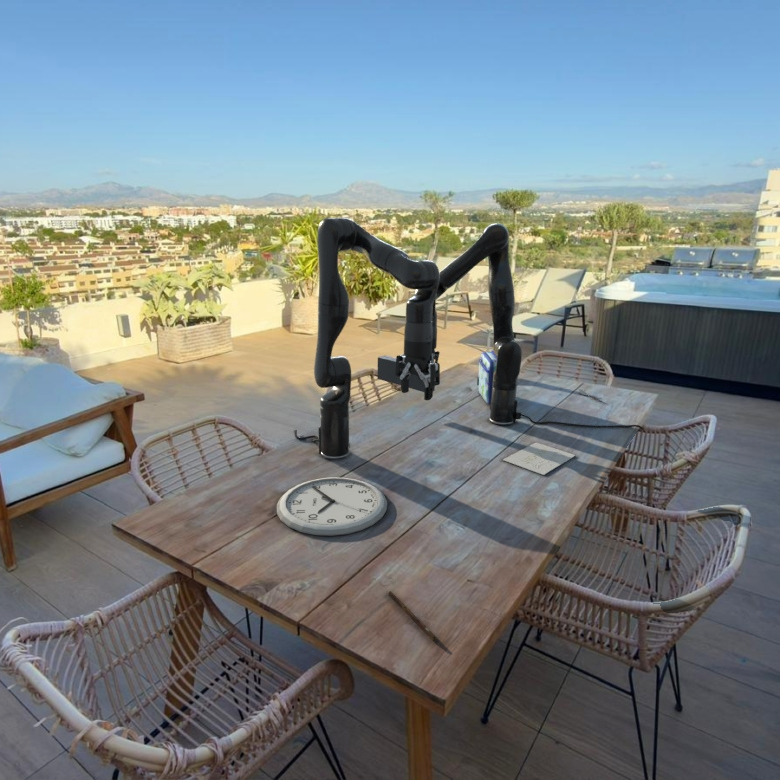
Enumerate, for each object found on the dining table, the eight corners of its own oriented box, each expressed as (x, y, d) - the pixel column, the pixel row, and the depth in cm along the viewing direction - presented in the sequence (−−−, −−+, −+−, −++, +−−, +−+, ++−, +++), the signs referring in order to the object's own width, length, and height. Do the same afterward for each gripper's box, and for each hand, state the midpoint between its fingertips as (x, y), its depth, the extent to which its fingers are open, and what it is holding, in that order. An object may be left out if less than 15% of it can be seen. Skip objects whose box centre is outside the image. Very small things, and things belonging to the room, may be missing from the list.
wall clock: (392, 527, 129) (268, 531, 127) (391, 533, 130) (269, 537, 127) (383, 473, 158) (282, 475, 155) (383, 478, 158) (282, 480, 156)
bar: (434, 390, 209) (435, 367, 206) (427, 393, 206) (428, 369, 203) (384, 376, 227) (385, 355, 224) (377, 378, 224) (377, 357, 221)
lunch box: (475, 390, 246) (478, 346, 240) (498, 390, 246) (501, 347, 240) (484, 408, 221) (487, 360, 215) (509, 409, 221) (513, 360, 215)
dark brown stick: (388, 595, 108) (388, 591, 108) (390, 594, 108) (390, 590, 108) (433, 641, 96) (433, 637, 96) (435, 640, 96) (435, 636, 96)
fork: (599, 403, 231) (599, 398, 230) (577, 392, 245) (578, 388, 245) (604, 402, 231) (604, 398, 231) (582, 392, 246) (583, 387, 245)
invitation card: (535, 442, 186) (575, 454, 176) (535, 442, 187) (575, 455, 176) (502, 459, 172) (543, 474, 162) (502, 460, 172) (543, 475, 162)
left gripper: (389, 335, 141) (388, 392, 146) (428, 344, 131) (426, 405, 136) (408, 332, 146) (407, 387, 151) (448, 340, 136) (445, 399, 141)
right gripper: (431, 332, 210) (429, 373, 215) (407, 337, 200) (406, 379, 205) (446, 335, 205) (444, 377, 210) (422, 340, 195) (421, 383, 201)
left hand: (416, 395), depth 144 cm, fingers open, 8 cm apart
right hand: (425, 378), depth 208 cm, fingers closed on bar, 4 cm apart
